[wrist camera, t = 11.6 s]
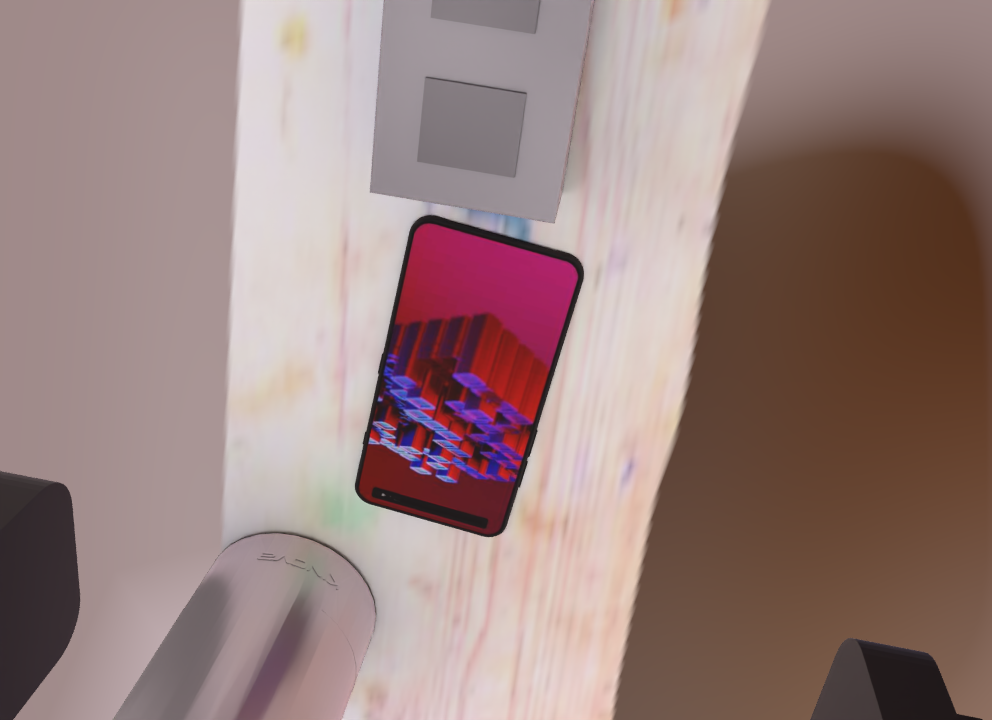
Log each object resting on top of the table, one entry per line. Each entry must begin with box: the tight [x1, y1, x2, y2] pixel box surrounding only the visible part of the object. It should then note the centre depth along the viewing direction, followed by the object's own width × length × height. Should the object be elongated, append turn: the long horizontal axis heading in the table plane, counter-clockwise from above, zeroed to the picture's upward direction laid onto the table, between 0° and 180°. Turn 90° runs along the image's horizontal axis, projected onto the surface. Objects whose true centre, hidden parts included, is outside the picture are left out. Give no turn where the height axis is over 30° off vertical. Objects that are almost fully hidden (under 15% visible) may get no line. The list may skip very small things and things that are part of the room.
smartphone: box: [355, 215, 584, 537], centre depth 43 cm, size 8×1×15 cm
